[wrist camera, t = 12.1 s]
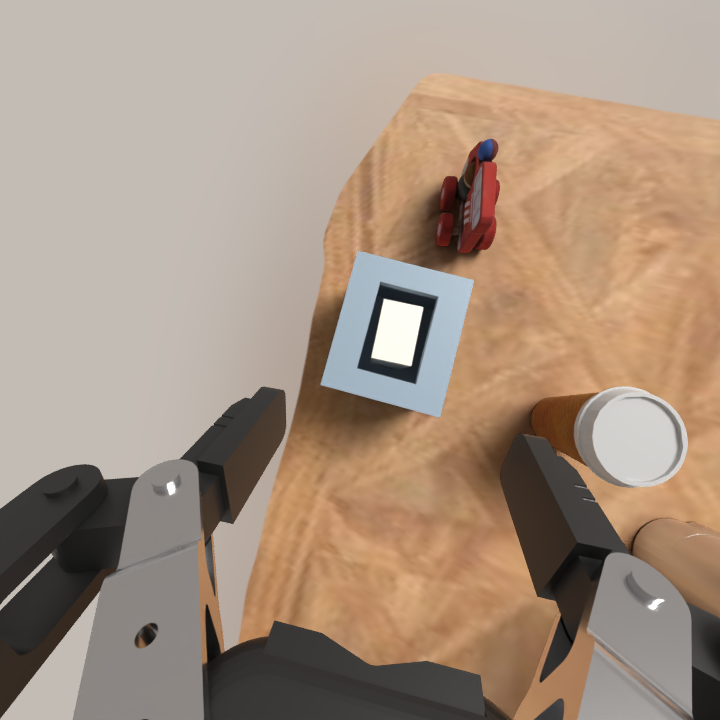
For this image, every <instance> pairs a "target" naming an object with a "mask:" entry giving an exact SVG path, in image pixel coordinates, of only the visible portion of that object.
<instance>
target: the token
mask: <svg viewBox="0 0 720 720" xmlns="http://www.w3.org/2000/svg"><path fill="white" fill-rule="evenodd" d="M422 312H423V307H421V306H416V305H411V304H406V303H401V302H397V301H392V300H387V299H384V301H383V305H382V310H381V314H380V319H379V323H378V328H377V332H376V337H375V342H374V346H373V351H372V356H371V360H370V364H374V365H378V366H383V367H388V368H392V369H397V370H401V369H404V368H407V367H410V366H411V365H412V360H413V356H414V351H415V346H416V341H417V336H418V331H419V326H420V321H421V317H422Z"/></svg>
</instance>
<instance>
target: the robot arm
mask: <svg viewBox="0 0 720 720" xmlns="http://www.w3.org/2000/svg"><path fill="white" fill-rule="evenodd" d="M285 429H286V403H285V392H284V390H280V389H274V388H268V387H261V388H260V389H259V390H258V392H257V393H256V394H255V395H254V396H253V397H252V398H251V399H249V398H244V399H242V400H240V401H238V402H237V403H235V404H233V405H231V406H230V407H229V409H228V410H227V411H226V412H225V413H224V414H223V415H222V417H220V418H219V419H218V420H217V421H216V422H215V423H214V425H213V426H211V427H210V428H209V429H208V430H207V431H206V432H205V433H204V435H203V436H201V438H200V439H199V440H198V441H197V442H196V443H195V444H194V445H193V446H192V447H191V448H190V449H189V450H188V451H187V452H186V453H185V454H184V455H183V457H181V458H180V459H178V460H171V461H166V462H163V463H160V464H158V465H156V466H154V467H152V468H150V469H149V470H147V471H146V472H145V473H143V474H142V475H141V476H140V477H135V478H122V479H107V480H104V479H103V476H102V474H101V472H100V470H99V469H98V468H97V467H95V466H93V465H86V464H84V465H74V466H70V467H66V468H63V469H60V470H58V471H55V472H53V473H51V474H49V475H47V476H45V477H43V478H42V479H40V480H39V481H37V482H36V483H34V484H33V485H31V486H30V487H29V488H28V489H26V490H25V491H23V492H22V493H21V494H19V495H18V496H17V497H15V498H14V499H13V500H12V501H10V502H9V503H8V504H6V505H5V506H4V507H2V508H1V509H0V604H1V603H2V602H3V600H4V599H5V598H6V597H7V596H8V595H9V594H10V593H11V592H12V591H13V590H14V589H15V588H16V587H17V586H18V585H19V584H20V583H21V582H22V581H23V580H24V579H25V578H26V577H27V576H28V575H29V574H30V573H31V572H32V571H33V570H34V569H35V568H36V567H37V566H38V565H39V564H40V563H42V561H43V560H44V559H46V558H47V557H48V556H49V555H50V553H52V555H53V558H52V559H51V560H50V561H49V562H48V563H47V564H46V565H45V566H44V567H43V568H42V569H41V570H40V571H39V572H38V573H37V574H36V575H35V576H34V577H33V578H32V579H31V580H30V581H29V582H28V583H27V584H26V585H25V586H24V587H23V588H22V589H21V590H20V591H19V592H18V593H17V594H16V595H15V596H14V597H13V598H12V599H11V600H10V601H9V602H8V603H7V605H5V606H4V607H3V608H2V609H1V611H0V718H1V717H2V716H3V714H4V713H5V712H6V711H7V709H8V708H9V707H10V705H11V704H12V703H13V702H14V700H15V699H16V698H17V696H18V695H19V694H20V693H21V691H22V690H23V689H24V687H25V686H26V685H27V684H28V682H29V681H30V680H31V678H32V677H33V676H34V675H35V673H36V672H37V671H38V670H39V668H40V667H41V666H42V664H43V663H44V662H45V660H46V659H47V658H48V657H49V655H50V654H51V653H52V652H53V650H54V649H55V648H56V646H57V645H58V644H59V643H60V641H61V640H62V639H63V637H64V636H65V635H66V634H67V632H68V631H69V630H70V628H71V627H72V626H73V625H74V623H75V622H76V621H77V619H78V618H79V617H80V616H81V614H82V613H83V612H84V610H85V609H86V608H87V607H88V605H89V604H90V603H91V601H92V600H93V599H94V598H95V596H96V595H97V594H98V593H99V591H100V595H99V599H98V604H97V608H96V613H95V618H94V622H93V627H92V632H91V636H90V642H89V646H88V651H87V655H86V660H85V665H84V669H83V675H82V679H81V684H80V688H79V693H78V698H77V703H76V707H75V712H74V717H73V720H511V719H510V718H509V717H508V716H507V715H506V714H505V713H504V712H503V711H502V710H501V709H500V708H498V707H497V706H496V705H495V704H494V703H492V702H491V701H490V700H489V699H487V698H485V697H484V696H483V692H482V685H481V678H480V675H477V674H473V673H470V672H466V671H462V670H458V669H455V668H451V667H447V666H443V665H440V664H436V663H432V662H428V661H422V662H412V663H401V664H391V665H381V666H373V665H369V664H368V663H366V662H364V661H363V660H361V659H360V658H358V657H357V656H355V655H354V654H352V653H351V652H349V651H348V650H346V649H345V648H343V647H342V646H340V645H339V644H337V643H336V642H334V641H333V640H331V639H330V638H328V637H327V636H325V635H324V634H323V633H319V632H316V631H312V630H308V629H304V628H301V627H297V626H293V625H289V624H286V623H282V622H278V621H274V623H273V626H272V629H271V632H270V635H269V636H267V637H260V638H256V639H252V640H248V641H246V642H243V643H241V644H238V645H236V646H234V647H232V648H230V649H229V650H227V651H224V641H223V632H222V624H221V618H220V611H219V603H218V592H217V580H216V567H215V556H214V543H213V534H212V533H213V531H214V530H215V528H216V527H217V525H218V523H219V522H220V521H222V522H227V523H231V524H233V523H234V521H235V520H236V518H237V516H238V515H239V513H240V511H241V510H242V508H243V506H244V504H245V503H246V501H247V499H248V497H249V496H250V494H251V493H252V491H253V489H254V487H255V486H256V484H257V482H258V480H259V479H260V477H261V476H262V474H263V472H264V470H265V469H266V467H267V465H268V464H269V462H270V460H271V458H272V457H273V455H274V453H275V452H276V450H277V448H278V447H279V445H280V443H281V441H282V439H283V437H284V434H285ZM500 480H501V486H502V489H503V492H504V495H505V498H506V501H507V504H508V507H509V511H510V514H511V517H512V520H513V523H514V526H515V529H516V532H517V535H518V538H519V541H520V545H521V548H522V551H523V554H524V557H525V560H526V563H527V566H528V569H529V572H530V576H531V579H532V582H533V585H534V588H535V591H536V594H537V597H541V598H546V599H550V600H554V601H556V603H557V605H558V608H559V611H560V612H559V613H558V614H557V616H556V618H555V620H554V623H553V625H552V628H551V631H550V634H549V637H548V639H547V642H546V645H545V648H544V651H543V653H542V656H541V659H540V662H539V665H538V667H537V670H536V673H535V676H534V679H533V681H532V684H531V686H530V689H529V691H528V693H527V695H526V696H525V698H524V700H523V701H522V703H521V705H520V706H519V708H518V710H517V712H516V714H515V716H514V719H513V720H720V533H719V532H717V531H715V530H712V529H710V528H708V527H705V526H703V525H701V524H698V523H696V522H690V523H684V522H681V521H679V520H676V519H670V518H664V519H658V520H654V521H652V522H650V523H648V524H646V525H645V526H644V527H643V528H642V529H641V530H640V532H639V533H638V535H637V536H636V539H635V541H634V545H633V556H631V555H630V553H629V551H628V550H627V548H626V547H625V545H624V544H623V542H622V540H621V539H620V537H619V536H618V534H617V533H616V531H615V530H614V528H613V526H612V525H611V523H610V522H609V520H608V519H607V517H606V515H605V514H604V512H603V511H602V509H601V508H600V506H599V504H598V503H596V502H595V498H594V497H593V495H592V493H591V492H590V490H589V489H587V486H586V484H585V482H584V481H583V479H582V478H581V476H580V475H579V473H578V471H577V470H576V469H575V468H573V467H572V466H571V465H570V464H569V463H568V462H567V461H566V460H565V459H564V458H563V457H560V456H557V455H556V453H555V452H554V450H553V448H552V446H551V445H550V443H549V441H548V440H547V439H546V438H544V437H539V436H533V435H528V434H522V433H519V434H517V435H516V436H515V438H514V440H513V443H512V445H511V447H510V449H509V452H508V454H507V456H506V458H505V461H504V463H503V465H502V468H501V474H500ZM116 569H117V570H116Z"/></svg>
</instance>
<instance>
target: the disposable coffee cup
mask: <svg viewBox="0 0 720 720" xmlns="http://www.w3.org/2000/svg"><path fill="white" fill-rule="evenodd" d="M531 425H532V429H533V431H534V433H535V434H536V436H539V437H544V438H546V439H547V440H548V441H549V443H550V445H551V446H552V447H554V448H556V449H558V450H559V451H561V452H563V453H565V454H566V455H568V456H570V457H571V458H573V459H575V460H577V461H579V462H580V463H582V464H584V465H586V466H587V467H589V468H590V469H591V470H592V472H594V473H595V474H596V475H597V476H599V477H600V478H602V479H603V480H605V481H607V482H609V483H611V484H614V485H617V486H621V487H630V488H633V487H650V486H654V485H658V484H661V483H663V482H665V481H667V480H669V479H670V478H671V477H672V476H673V475H675V474H676V472H677V471H678V470H679V469H680V467H681V466H682V464H683V462H684V459H685V456H686V454H687V446H688V440H687V433H686V429H685V426H684V423H683V421H682V420H681V418H680V416H679V414H678V413H677V412H676V411H675V410H674V409H673V408H672V407H671V406H670V405H669V404H668V403H667V402H666V401H664V400H663V399H661V398H659V397H657V396H654V395H652V394H650V393H648V392H646V391H644V390H641V389H638V388H634V387H626V386H624V387H614V388H609V389H607V390H604V391H601V392H599V393H589V394H580V395H570V396H561V397H550V398H546V399H544V400H542V401H540V402H539V403H538V404H537V405H536V406H535V408H534V409H533V411H532V415H531Z"/></svg>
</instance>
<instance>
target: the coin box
mask: <svg viewBox="0 0 720 720" xmlns="http://www.w3.org/2000/svg"><path fill="white" fill-rule="evenodd" d="M473 283H474V280H471V279H467V278H463V277H459V276H455V275H451V274H447V273H443V272H440V271H436V270H432V269H428V268H424V267H420V266H416V265H412V264H408V263H404V262H400V261H396V260H392V259H388V258H385V257H381V256H377V255H373V254H369V253H365V252H361V251H358V252H357V256H356V259H355V263H354V267H353V270H352V274H351V277H350V281H349V284H348V288H347V292H346V295H345V299H344V302H343V306H342V310H341V313H340V317H339V320H338V324H337V327H336V331H335V335H334V338H333V342H332V345H331V349H330V353H329V356H328V360H327V363H326V367H325V370H324V374H323V378H322V381H321V385H323V386H326V387H330V388H334V389H337V390H341V391H345V392H348V393H352V394H355V395H359V396H363V397H366V398H370V399H374V400H377V401H381V402H385V403H388V404H392V405H396V406H399V407H403V408H407V409H410V410H414V411H418V412H421V413H425V414H429V415H432V416H436V417H440V416H441V412H442V408H443V404H444V400H445V396H446V392H447V388H448V384H449V380H450V376H451V372H452V367H453V363H454V359H455V355H456V351H457V347H458V343H459V339H460V335H461V331H462V327H463V323H464V319H465V315H466V311H467V307H468V303H469V299H470V295H471V291H472V287H473ZM384 299H387V300H392V301H397V302H401V303H406V304H411V305H416V306H421V307H423V312H422V317H421V321H420V326H419V331H418V336H417V341H416V346H415V351H414V356H413V360H412V365H411V366H410V367H407V368H404V369H401V370H397V369H392V368H388V367H383V366H378V365H374V364H370V360H371V356H372V351H373V346H374V342H375V337H376V332H377V328H378V323H379V319H380V314H381V310H382V305H383V301H384Z"/></svg>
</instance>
